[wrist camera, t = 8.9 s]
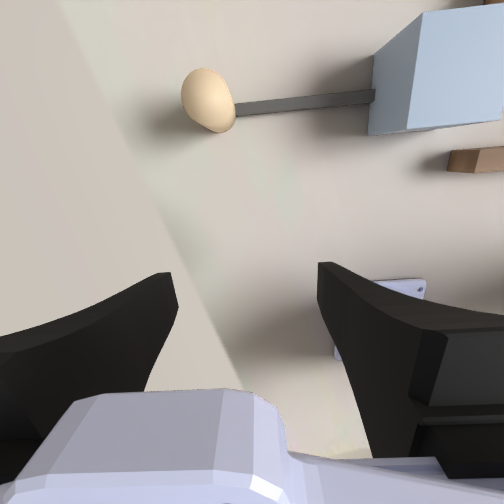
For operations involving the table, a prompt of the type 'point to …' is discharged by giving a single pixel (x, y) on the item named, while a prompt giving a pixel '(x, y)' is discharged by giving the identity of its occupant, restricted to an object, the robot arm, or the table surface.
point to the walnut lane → (478, 151)
